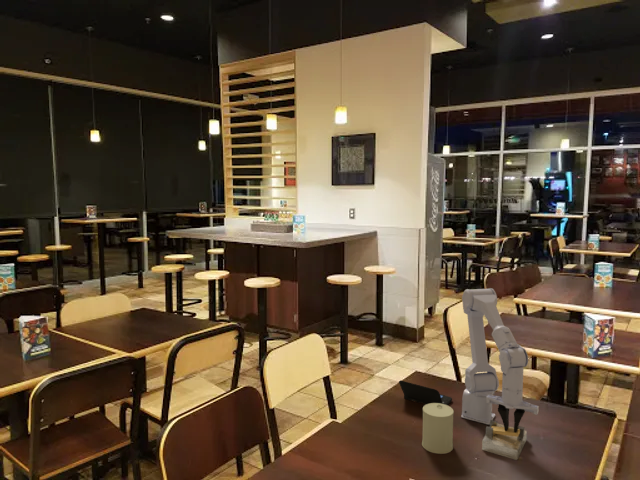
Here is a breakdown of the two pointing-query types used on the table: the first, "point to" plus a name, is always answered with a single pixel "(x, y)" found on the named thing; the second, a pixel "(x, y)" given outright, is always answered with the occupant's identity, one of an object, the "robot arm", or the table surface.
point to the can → (437, 428)
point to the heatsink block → (503, 442)
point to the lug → (521, 431)
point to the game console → (423, 394)
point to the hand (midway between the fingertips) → (511, 430)
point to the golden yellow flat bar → (502, 431)
